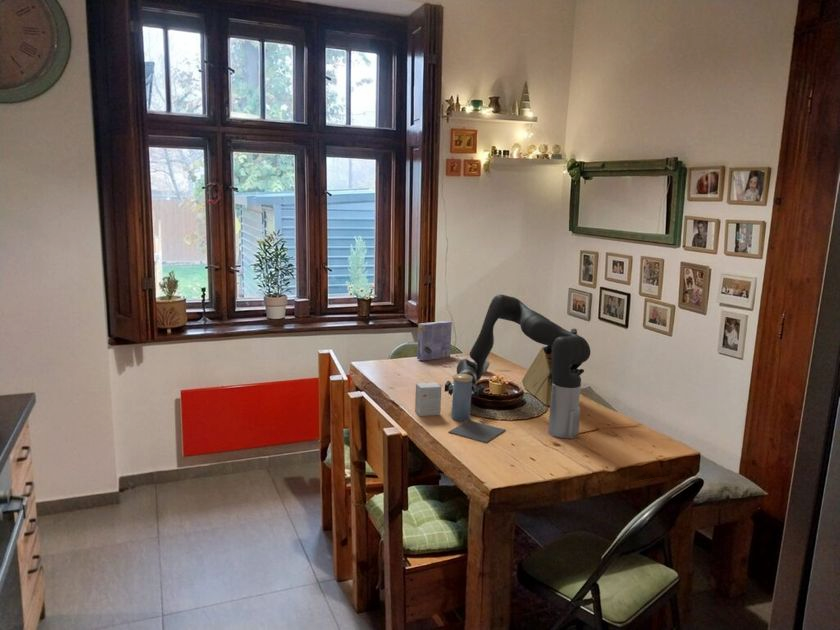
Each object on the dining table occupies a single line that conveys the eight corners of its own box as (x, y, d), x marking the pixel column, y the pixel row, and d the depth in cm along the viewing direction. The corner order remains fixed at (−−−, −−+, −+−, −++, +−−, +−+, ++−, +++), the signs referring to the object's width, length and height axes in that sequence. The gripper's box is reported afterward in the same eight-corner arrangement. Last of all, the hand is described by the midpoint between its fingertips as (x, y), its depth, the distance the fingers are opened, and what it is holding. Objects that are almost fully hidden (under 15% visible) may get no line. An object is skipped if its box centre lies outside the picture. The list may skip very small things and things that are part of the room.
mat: (505, 430, 211) (505, 429, 211) (486, 443, 200) (486, 441, 200) (469, 421, 219) (469, 420, 219) (448, 432, 207) (448, 431, 207)
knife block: (554, 415, 229) (561, 332, 224) (520, 386, 263) (526, 314, 258) (583, 414, 232) (591, 332, 226) (546, 386, 266) (552, 314, 260)
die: (483, 377, 277) (495, 359, 279) (467, 366, 278) (479, 348, 280) (481, 378, 285) (492, 361, 287) (465, 368, 286) (476, 350, 288)
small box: (435, 409, 229) (436, 381, 228) (440, 414, 224) (442, 386, 222) (414, 411, 227) (415, 383, 225) (419, 416, 222) (420, 387, 220)
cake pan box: (445, 354, 313) (447, 319, 310) (452, 356, 309) (454, 321, 306) (415, 359, 301) (417, 323, 298) (422, 361, 297) (424, 325, 294)
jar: (473, 417, 223) (475, 376, 220) (464, 422, 217) (466, 380, 214) (457, 413, 226) (459, 372, 223) (447, 418, 221) (450, 376, 218)
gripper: (448, 370, 240) (443, 381, 224) (485, 373, 238) (483, 385, 222) (447, 389, 241) (442, 401, 225) (484, 392, 239) (482, 405, 223)
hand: (462, 393), depth 224 cm, fingers open, 8 cm apart
